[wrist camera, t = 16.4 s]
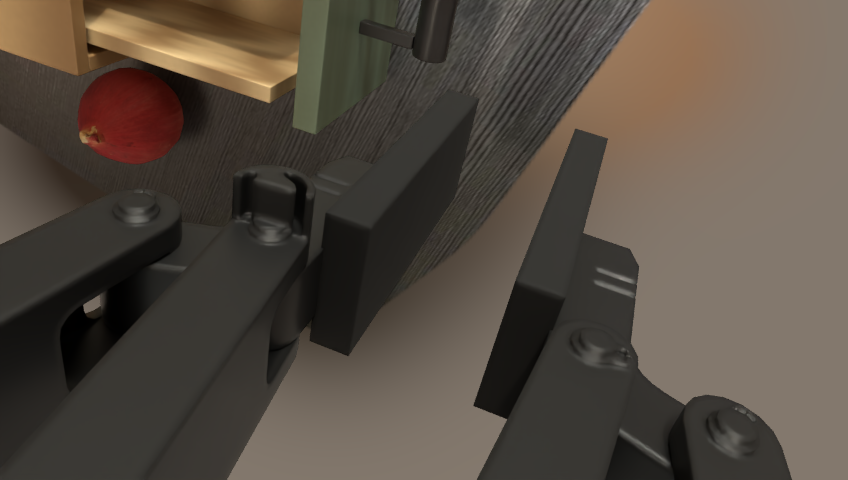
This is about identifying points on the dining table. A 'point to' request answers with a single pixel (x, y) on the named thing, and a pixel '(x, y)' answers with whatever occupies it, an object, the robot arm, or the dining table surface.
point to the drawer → (273, 45)
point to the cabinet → (51, 35)
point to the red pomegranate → (130, 116)
